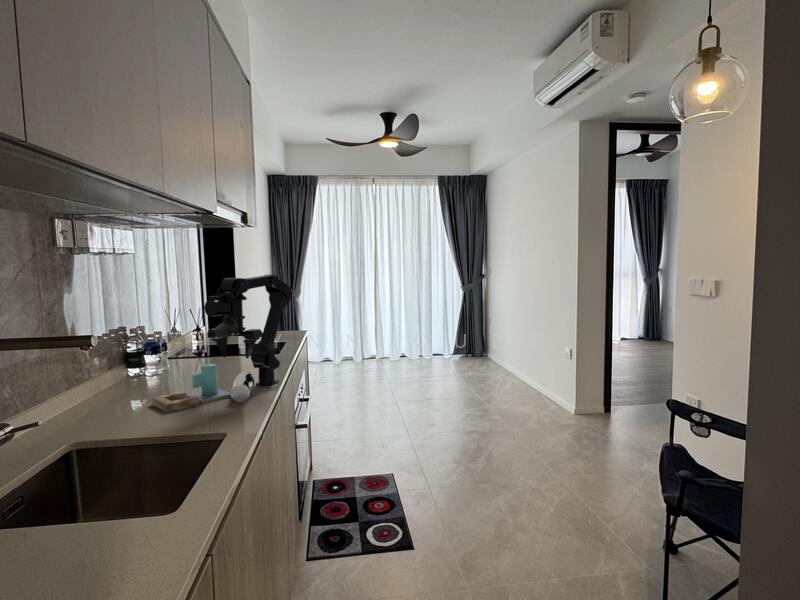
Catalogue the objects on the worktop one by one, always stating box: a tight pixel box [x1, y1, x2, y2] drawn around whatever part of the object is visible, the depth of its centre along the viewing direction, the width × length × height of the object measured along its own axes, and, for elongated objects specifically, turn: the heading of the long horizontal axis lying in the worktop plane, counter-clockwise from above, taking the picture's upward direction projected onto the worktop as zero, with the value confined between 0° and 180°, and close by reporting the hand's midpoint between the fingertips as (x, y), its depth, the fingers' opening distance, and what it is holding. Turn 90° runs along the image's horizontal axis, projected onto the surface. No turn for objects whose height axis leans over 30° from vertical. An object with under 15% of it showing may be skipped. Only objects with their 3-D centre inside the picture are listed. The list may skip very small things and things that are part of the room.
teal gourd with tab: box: [191, 363, 219, 396], centre depth 160 cm, size 8×5×10 cm, turn 139°
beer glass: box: [230, 371, 255, 403], centre depth 162 cm, size 7×7×15 cm
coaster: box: [186, 388, 232, 405], centre depth 161 cm, size 11×11×1 cm
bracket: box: [151, 390, 200, 413], centre depth 152 cm, size 10×12×2 cm
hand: (235, 357), depth 164 cm, fingers open, 9 cm apart
